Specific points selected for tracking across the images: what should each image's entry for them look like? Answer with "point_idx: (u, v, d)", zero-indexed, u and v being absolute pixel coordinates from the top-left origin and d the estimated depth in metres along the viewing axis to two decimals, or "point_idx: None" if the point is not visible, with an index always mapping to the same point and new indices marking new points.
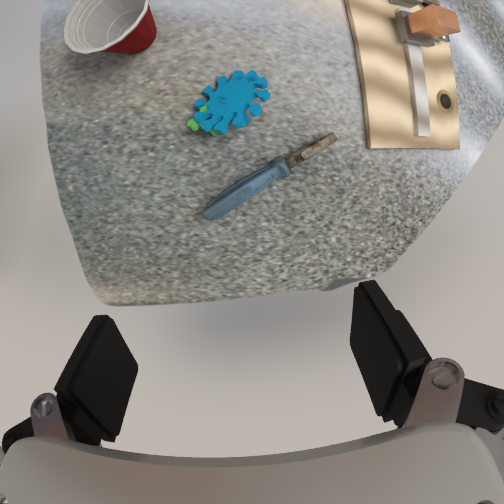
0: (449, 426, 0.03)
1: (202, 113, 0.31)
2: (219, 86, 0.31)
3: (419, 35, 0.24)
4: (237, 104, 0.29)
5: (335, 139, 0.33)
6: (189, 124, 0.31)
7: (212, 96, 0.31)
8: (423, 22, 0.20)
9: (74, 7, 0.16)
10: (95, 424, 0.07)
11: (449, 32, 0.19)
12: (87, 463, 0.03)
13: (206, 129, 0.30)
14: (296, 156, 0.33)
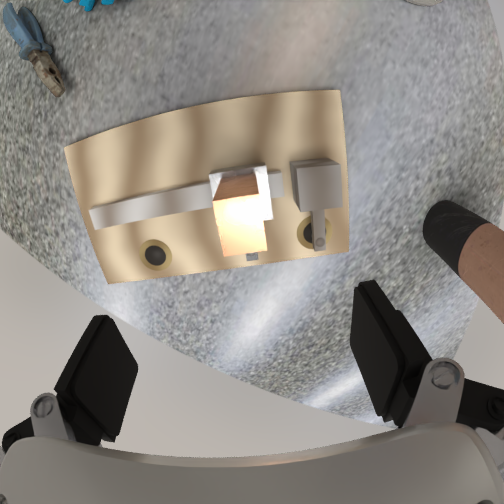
0: (449, 426, 0.03)
1: None
2: None
3: None
4: None
5: (55, 94, 0.20)
6: None
7: None
8: (230, 187, 0.20)
9: None
10: (95, 424, 0.07)
11: None
12: (87, 463, 0.03)
13: None
14: (37, 58, 0.17)
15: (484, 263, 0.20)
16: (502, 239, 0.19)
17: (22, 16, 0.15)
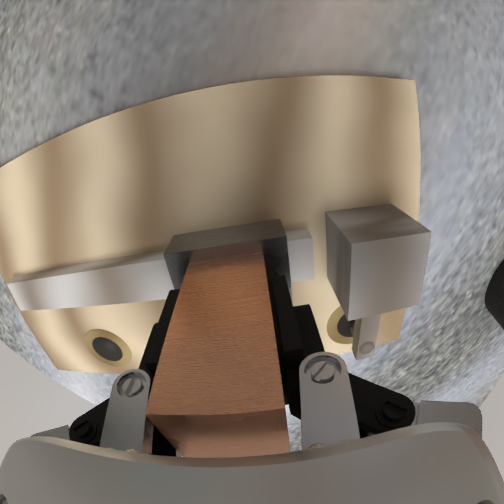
0: (449, 426, 0.03)
1: None
2: None
3: None
4: None
5: None
6: None
7: None
8: (202, 321, 0.08)
9: None
10: None
11: None
12: (87, 463, 0.03)
13: None
14: None
15: None
16: None
17: None
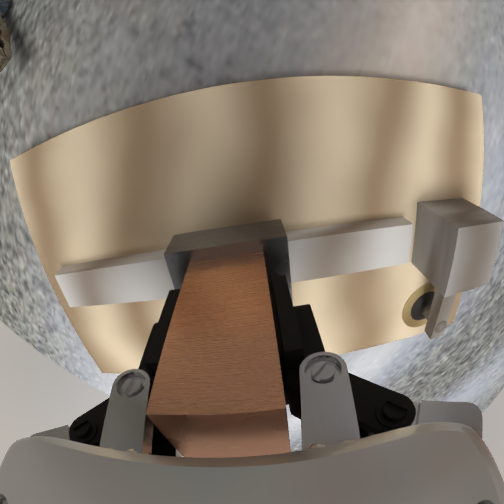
0: (449, 426, 0.03)
1: None
2: None
3: None
4: None
5: None
6: None
7: None
8: (202, 321, 0.08)
9: None
10: None
11: None
12: (87, 462, 0.03)
13: None
14: None
15: None
16: None
17: None
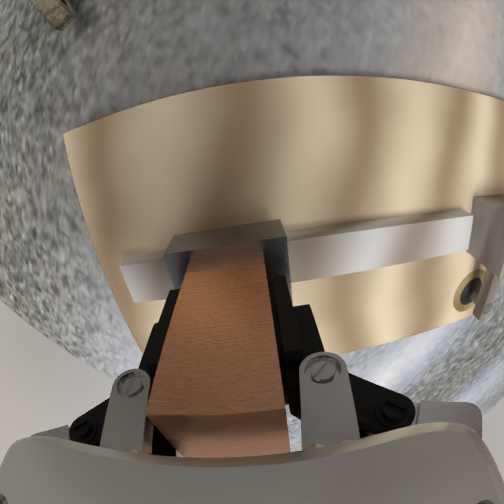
0: (449, 426, 0.03)
1: None
2: None
3: None
4: None
5: (53, 23, 0.07)
6: None
7: None
8: (202, 322, 0.08)
9: None
10: None
11: None
12: (87, 463, 0.03)
13: None
14: None
15: None
16: None
17: None
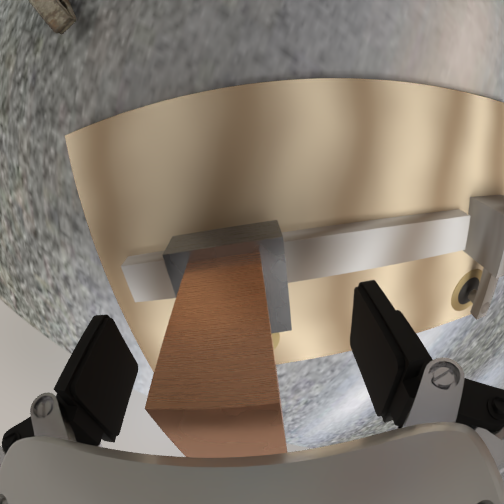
0: (449, 426, 0.03)
1: None
2: None
3: None
4: None
5: (53, 26, 0.07)
6: None
7: None
8: (200, 320, 0.08)
9: None
10: (95, 424, 0.07)
11: None
12: (87, 463, 0.03)
13: None
14: None
15: None
16: None
17: None
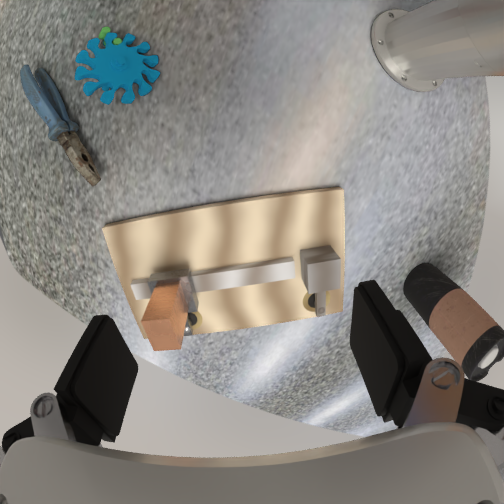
0: (449, 426, 0.03)
1: (111, 40, 0.20)
2: (142, 56, 0.23)
3: None
4: (103, 71, 0.21)
5: (91, 183, 0.27)
6: (103, 29, 0.20)
7: (131, 49, 0.22)
8: (156, 302, 0.28)
9: None
10: (95, 424, 0.07)
11: None
12: (87, 463, 0.03)
13: (88, 44, 0.19)
14: (68, 142, 0.24)
15: (448, 324, 0.28)
16: (465, 305, 0.28)
17: (40, 80, 0.22)
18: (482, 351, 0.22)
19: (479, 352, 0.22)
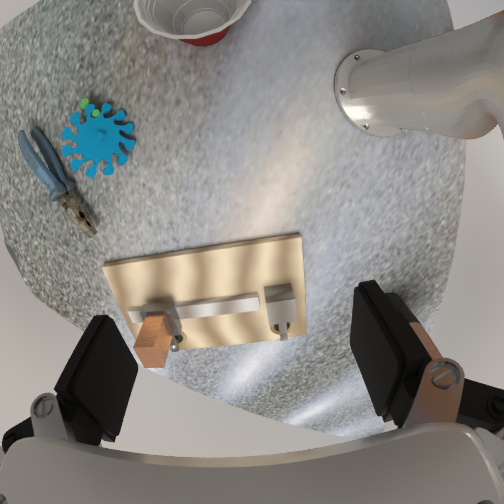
0: (449, 426, 0.03)
1: (90, 112, 0.27)
2: (119, 126, 0.30)
3: None
4: (85, 147, 0.27)
5: (89, 236, 0.34)
6: (82, 100, 0.26)
7: (108, 120, 0.29)
8: (145, 331, 0.35)
9: None
10: (95, 424, 0.07)
11: None
12: (87, 463, 0.03)
13: (70, 119, 0.26)
14: (67, 203, 0.31)
15: None
16: None
17: (36, 140, 0.29)
18: None
19: None
